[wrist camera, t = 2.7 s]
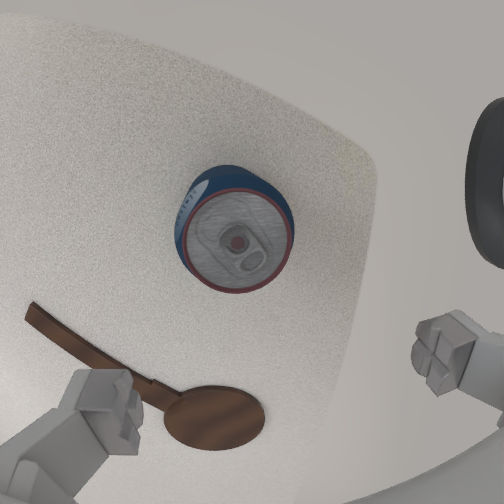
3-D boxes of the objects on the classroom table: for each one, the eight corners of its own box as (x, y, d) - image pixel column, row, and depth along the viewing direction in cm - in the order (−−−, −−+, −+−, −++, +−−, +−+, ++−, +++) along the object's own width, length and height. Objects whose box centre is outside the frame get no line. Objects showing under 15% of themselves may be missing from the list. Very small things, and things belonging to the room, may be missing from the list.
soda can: (171, 196, 26) (143, 233, 15) (234, 148, 26) (253, 148, 15) (218, 255, 29) (225, 325, 18) (280, 210, 28) (326, 254, 17)
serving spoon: (284, 410, 37) (285, 414, 36) (224, 455, 39) (224, 459, 38) (47, 266, 27) (44, 269, 26) (17, 342, 29) (14, 346, 28)
